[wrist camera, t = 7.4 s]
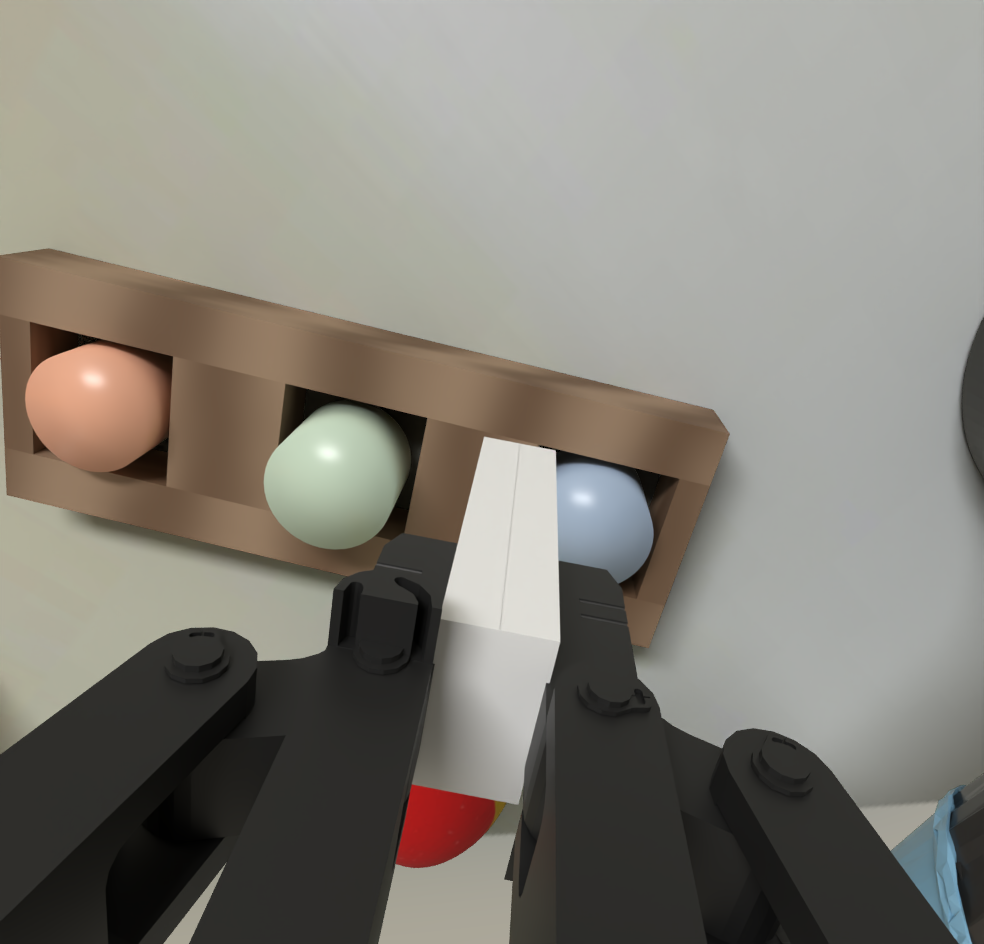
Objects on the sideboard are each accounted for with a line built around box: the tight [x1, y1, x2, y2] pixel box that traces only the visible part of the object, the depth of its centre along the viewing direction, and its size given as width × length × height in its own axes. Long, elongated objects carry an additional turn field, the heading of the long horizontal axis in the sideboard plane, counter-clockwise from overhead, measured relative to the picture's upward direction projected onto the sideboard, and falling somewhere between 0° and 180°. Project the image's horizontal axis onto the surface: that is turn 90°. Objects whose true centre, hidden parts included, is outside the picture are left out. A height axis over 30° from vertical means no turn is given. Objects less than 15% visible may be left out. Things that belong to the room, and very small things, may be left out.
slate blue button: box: [556, 451, 653, 583], centre depth 30 cm, size 5×5×4 cm
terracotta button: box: [25, 339, 173, 472], centre depth 29 cm, size 5×5×4 cm
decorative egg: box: [396, 784, 507, 868], centre depth 31 cm, size 8×8×10 cm
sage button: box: [264, 400, 411, 549], centre depth 28 cm, size 5×5×4 cm
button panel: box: [0, 249, 730, 648], centre depth 30 cm, size 28×10×3 cm, turn 77°
